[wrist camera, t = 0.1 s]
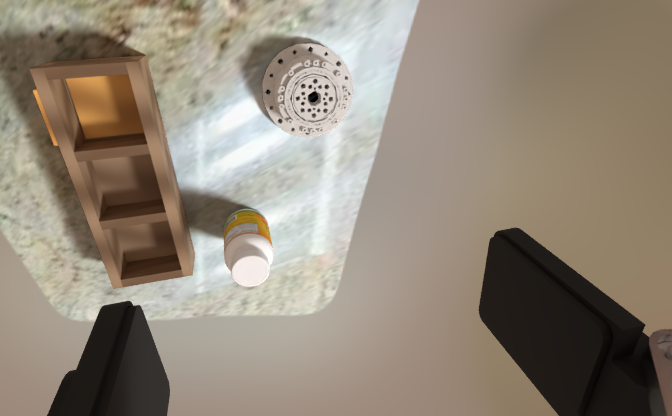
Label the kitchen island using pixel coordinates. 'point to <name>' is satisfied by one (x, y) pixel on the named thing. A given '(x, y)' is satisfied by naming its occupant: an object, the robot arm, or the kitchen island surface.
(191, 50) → the kitchen island surface
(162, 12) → the kitchen island surface
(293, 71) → the mechanical component
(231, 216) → the supplement bottle
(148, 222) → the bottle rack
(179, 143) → the kitchen island surface
